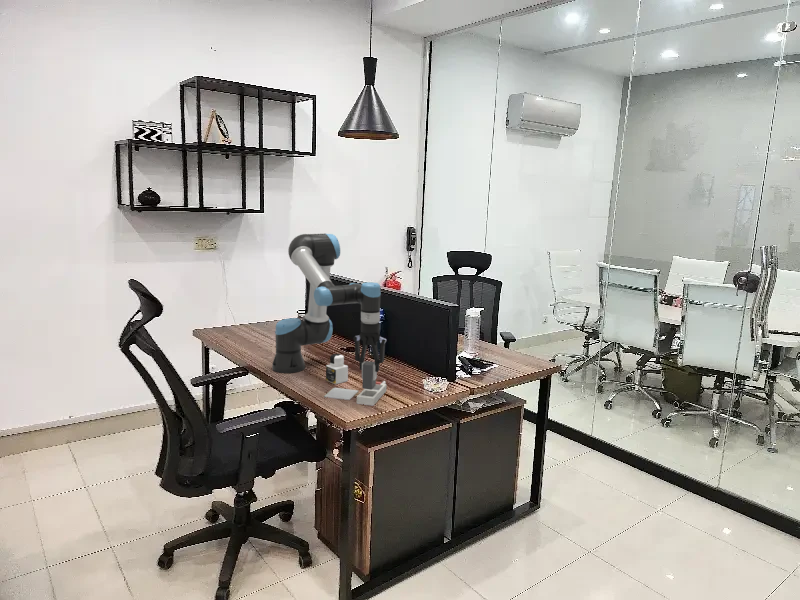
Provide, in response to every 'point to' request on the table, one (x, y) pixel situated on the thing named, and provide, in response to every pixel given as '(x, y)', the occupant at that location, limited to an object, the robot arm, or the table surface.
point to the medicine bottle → (336, 369)
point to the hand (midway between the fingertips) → (369, 378)
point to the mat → (341, 393)
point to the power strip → (372, 394)
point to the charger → (368, 376)
